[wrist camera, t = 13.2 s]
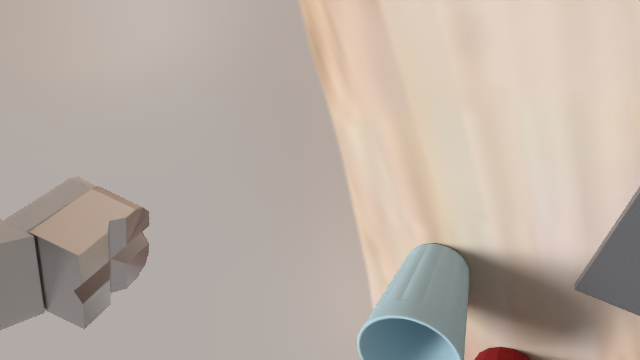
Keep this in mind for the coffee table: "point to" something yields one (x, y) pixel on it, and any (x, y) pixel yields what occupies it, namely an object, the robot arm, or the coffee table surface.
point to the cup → (420, 310)
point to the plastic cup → (501, 354)
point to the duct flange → (617, 263)
